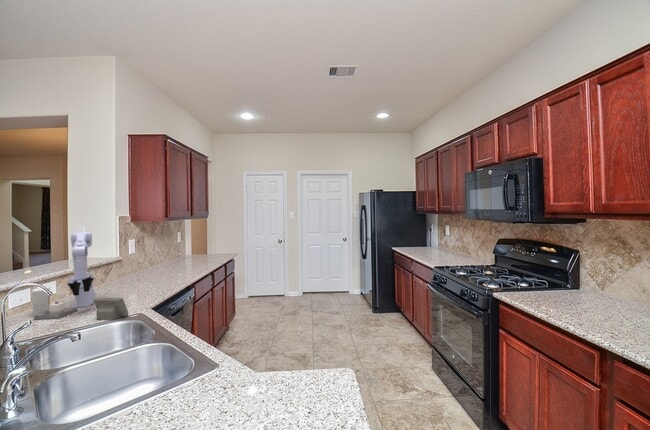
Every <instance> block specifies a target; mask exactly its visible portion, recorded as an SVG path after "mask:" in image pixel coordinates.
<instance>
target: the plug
mask: <svg viewBox="0 0 650 430" xmlns="http://www.w3.org/2000/svg"><path fill="white" fill-rule="evenodd" d="M65 308H66V307H65V302H59V301H54V303H50V305H49V313H59V312H61V311H64V310H65Z"/></svg>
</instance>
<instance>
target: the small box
mask: <svg viewBox="0 0 650 430" xmlns="http://www.w3.org/2000/svg"><path fill="white" fill-rule="evenodd" d="M40 288H41V287H40ZM40 288H33V290H32V291H31V294H32V295H31V297H32V316H33V317H34V316H35V315H38V314H40V313H43V312H46V311H48V310H49V305H51V295H50V296H49V295H48V294H47V293H46V292H44V291H43V290H42V289H40ZM47 288H48V289H49V290H50V286H47Z"/></svg>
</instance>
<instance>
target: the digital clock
mask: <svg viewBox="0 0 650 430" xmlns="http://www.w3.org/2000/svg"><path fill="white" fill-rule="evenodd" d="M93 304H94V305H95V307H96V320H97V321H114V320H116V319H115V318H117V319H119V318H120V317H121V318H123V317H128V316H129V310H128V308H127V305H126V302H125V300H124V298H123V297H121V296H119V297H118V296H95V298H94V303H93ZM118 317H119V318H118ZM113 319H114V320H113Z"/></svg>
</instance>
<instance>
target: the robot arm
mask: <svg viewBox="0 0 650 430" xmlns="http://www.w3.org/2000/svg"><path fill="white" fill-rule="evenodd" d="M70 243H71V247H72V248H71V257H72V262H73V276H72V277H71V278H70V279H68V280H67V286H68V287H69V289H70V290H71V292H72V295H73V296H74V304H75V305H72V306H71V307H77V308H85V307H86V308H87V307H88V306H90V305H94V304H95V303H94V298H95V297H96V290H95V289H94V280H95V279H94V274H93V273H89V272H88V271H89V270H88V256H89V248H90V247H92V245H93V233H92V231H81V232H80V231H79V232H78V231H77V232H76V231H75V232H72V231H71V233H70Z"/></svg>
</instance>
